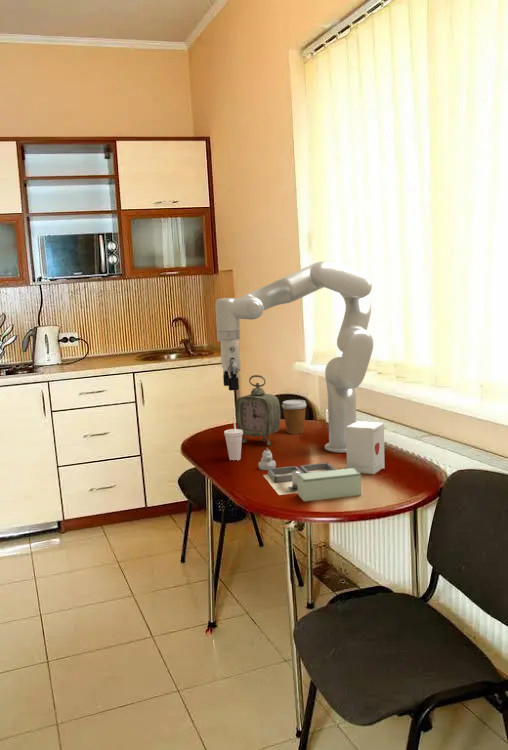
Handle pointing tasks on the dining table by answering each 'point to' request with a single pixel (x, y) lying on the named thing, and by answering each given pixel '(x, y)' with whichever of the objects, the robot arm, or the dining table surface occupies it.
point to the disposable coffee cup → (294, 415)
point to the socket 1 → (282, 470)
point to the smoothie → (234, 442)
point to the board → (284, 484)
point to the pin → (295, 479)
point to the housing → (329, 484)
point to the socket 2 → (316, 467)
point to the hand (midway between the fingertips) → (231, 387)
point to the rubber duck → (267, 461)
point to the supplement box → (365, 446)
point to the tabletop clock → (258, 413)
